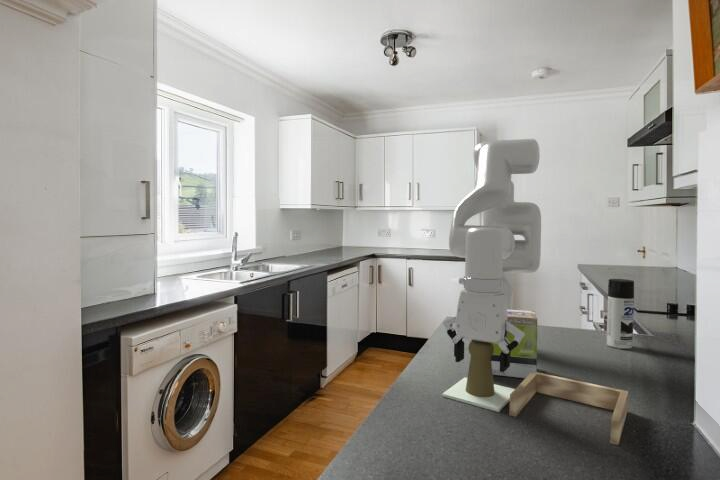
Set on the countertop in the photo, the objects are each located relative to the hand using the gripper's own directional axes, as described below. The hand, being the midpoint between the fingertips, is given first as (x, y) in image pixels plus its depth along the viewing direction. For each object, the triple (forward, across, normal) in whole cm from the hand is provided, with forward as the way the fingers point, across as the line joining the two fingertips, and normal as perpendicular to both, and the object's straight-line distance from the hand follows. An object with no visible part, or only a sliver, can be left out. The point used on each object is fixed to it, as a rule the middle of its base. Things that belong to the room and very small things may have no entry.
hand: (481, 365), depth 91 cm
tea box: (+7, -1, +18) cm, 19 cm away
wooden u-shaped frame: (+6, +17, +2) cm, 18 cm away
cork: (+6, 0, 0) cm, 6 cm away
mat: (+6, 0, 0) cm, 6 cm away
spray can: (+7, +20, +60) cm, 64 cm away
